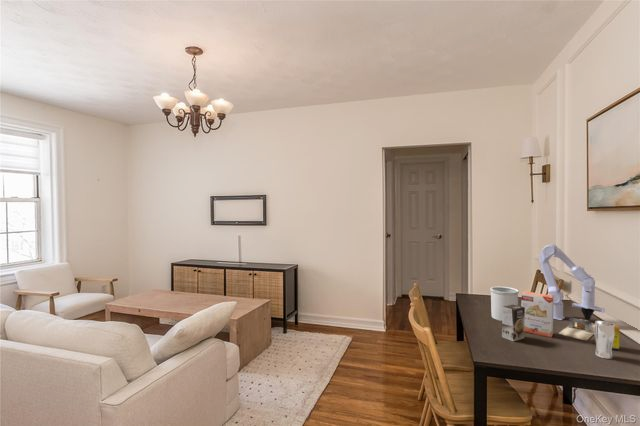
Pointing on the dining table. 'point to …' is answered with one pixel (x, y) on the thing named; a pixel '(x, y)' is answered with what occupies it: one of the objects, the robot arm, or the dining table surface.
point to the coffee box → (513, 322)
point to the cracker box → (538, 313)
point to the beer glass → (604, 339)
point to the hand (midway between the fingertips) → (587, 321)
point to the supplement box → (616, 338)
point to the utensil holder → (502, 300)
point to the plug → (581, 324)
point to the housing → (587, 323)
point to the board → (578, 332)
